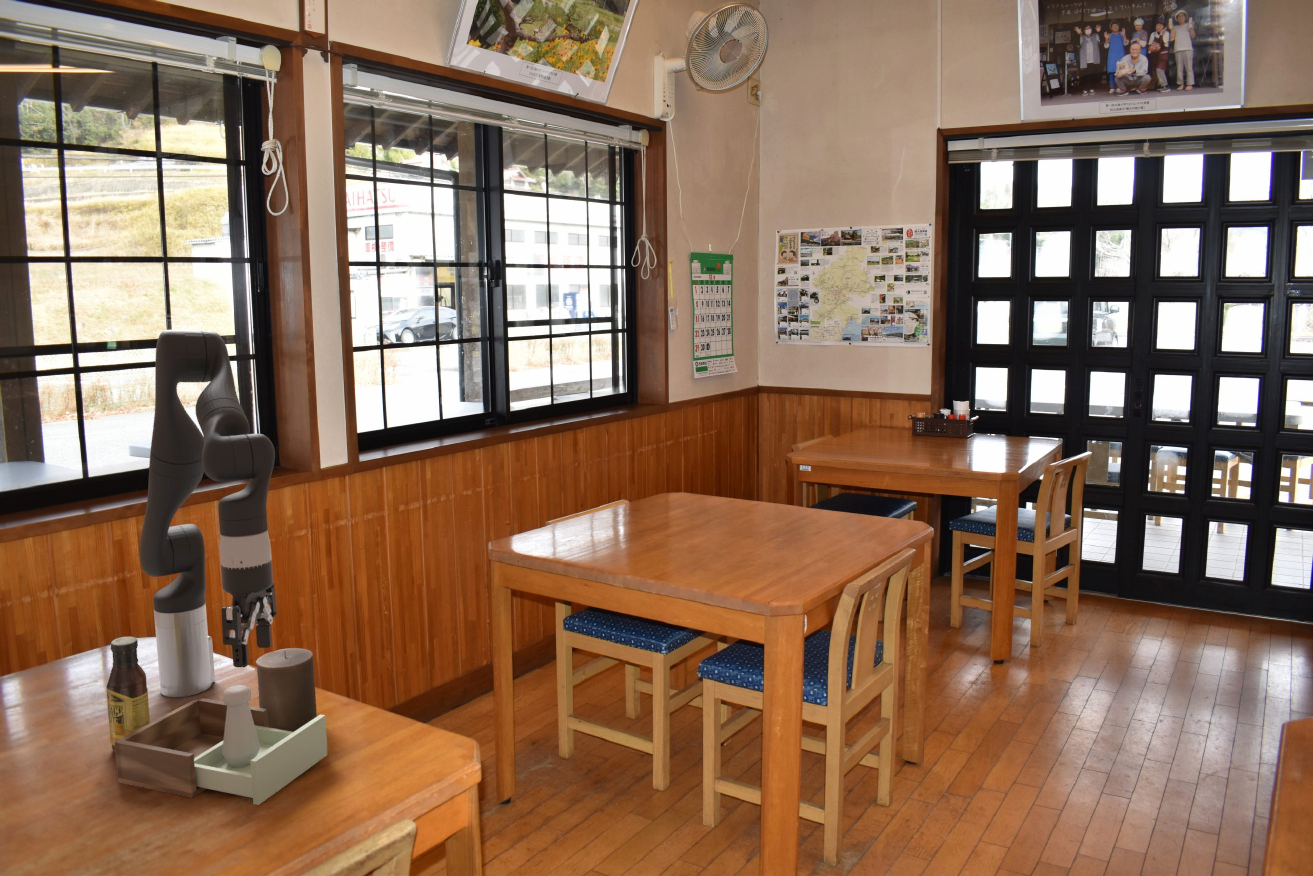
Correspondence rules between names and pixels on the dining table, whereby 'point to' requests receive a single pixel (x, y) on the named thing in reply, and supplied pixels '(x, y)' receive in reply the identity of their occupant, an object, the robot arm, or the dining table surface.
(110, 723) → the sauce bottle
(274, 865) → the dining table surface
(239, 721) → the salt shaker
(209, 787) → the drawer
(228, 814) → the dining table surface
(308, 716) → the pillar candle
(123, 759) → the cabinet
